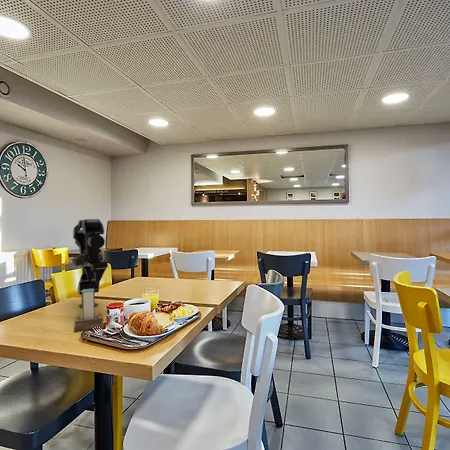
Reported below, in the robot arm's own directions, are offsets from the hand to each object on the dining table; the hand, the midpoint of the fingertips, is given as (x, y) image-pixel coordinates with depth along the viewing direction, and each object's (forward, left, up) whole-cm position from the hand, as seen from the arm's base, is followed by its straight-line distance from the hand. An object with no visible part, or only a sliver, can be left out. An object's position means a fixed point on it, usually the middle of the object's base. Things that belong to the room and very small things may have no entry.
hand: (93, 282), depth 137 cm
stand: (+17, -8, -13) cm, 23 cm away
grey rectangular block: (+17, -8, -12) cm, 22 cm away
